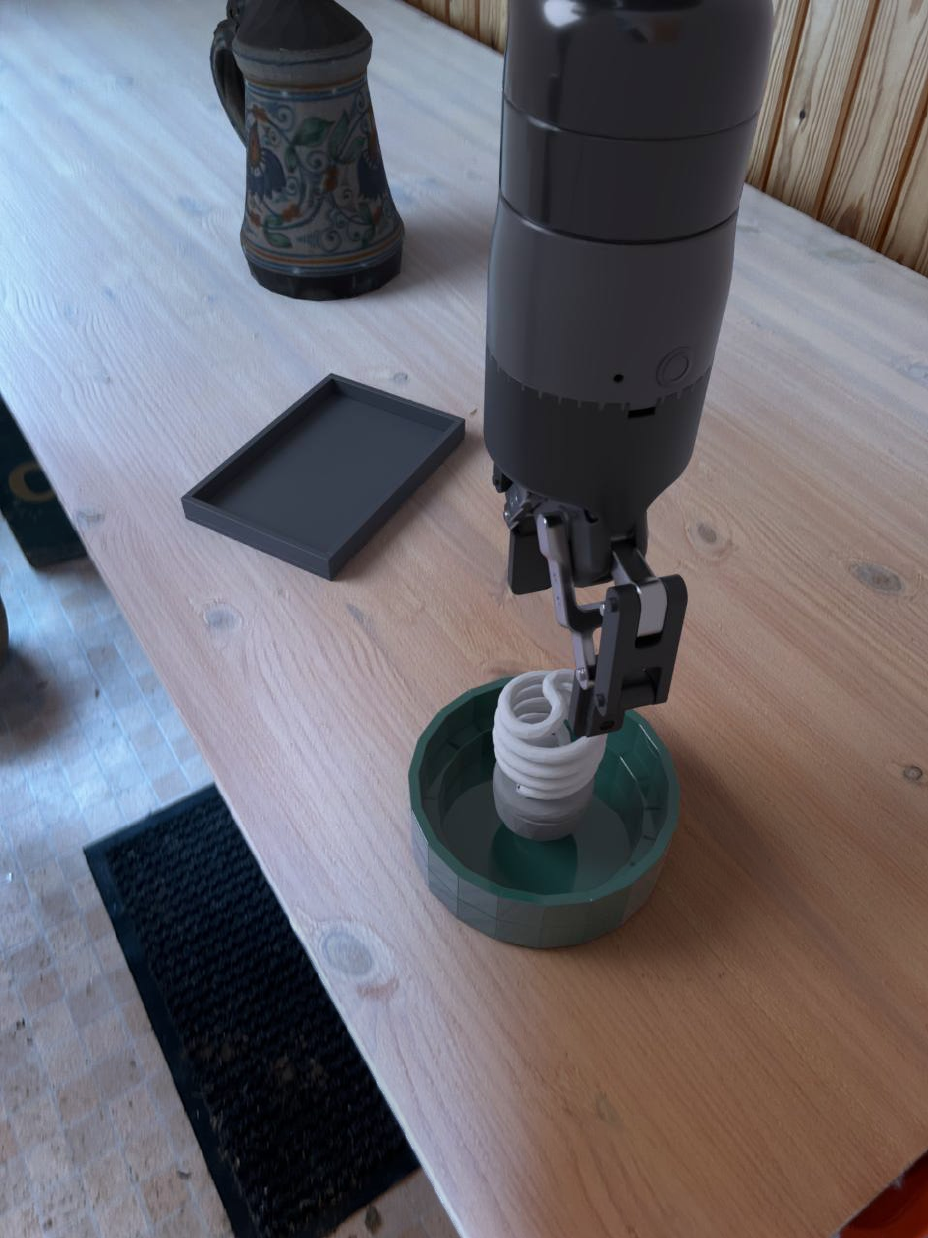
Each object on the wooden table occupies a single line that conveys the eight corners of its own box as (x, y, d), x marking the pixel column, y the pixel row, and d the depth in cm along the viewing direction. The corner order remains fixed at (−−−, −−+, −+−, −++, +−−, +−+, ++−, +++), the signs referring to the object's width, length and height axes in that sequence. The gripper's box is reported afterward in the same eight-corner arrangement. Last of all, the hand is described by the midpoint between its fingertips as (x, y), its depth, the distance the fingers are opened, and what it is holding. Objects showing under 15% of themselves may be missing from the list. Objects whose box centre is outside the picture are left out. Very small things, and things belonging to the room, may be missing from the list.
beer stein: (382, 311, 93) (366, 15, 74) (192, 289, 95) (131, -3, 77) (422, 234, 104) (416, -40, 85) (250, 216, 106) (209, -54, 88)
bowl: (601, 1000, 48) (613, 958, 44) (362, 870, 52) (355, 822, 49) (700, 789, 56) (717, 739, 53) (487, 693, 61) (489, 641, 57)
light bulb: (558, 889, 51) (581, 760, 43) (468, 840, 53) (473, 707, 45) (604, 811, 55) (634, 677, 46) (518, 768, 57) (531, 631, 48)
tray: (330, 581, 68) (328, 560, 66) (185, 518, 72) (179, 497, 70) (465, 439, 79) (465, 418, 78) (332, 392, 83) (330, 372, 82)
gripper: (435, 243, 35) (440, 562, 47) (565, 481, 26) (530, 804, 38) (625, 220, 37) (583, 535, 49) (813, 438, 27) (705, 762, 39)
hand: (560, 653), depth 43 cm, fingers open, 8 cm apart
